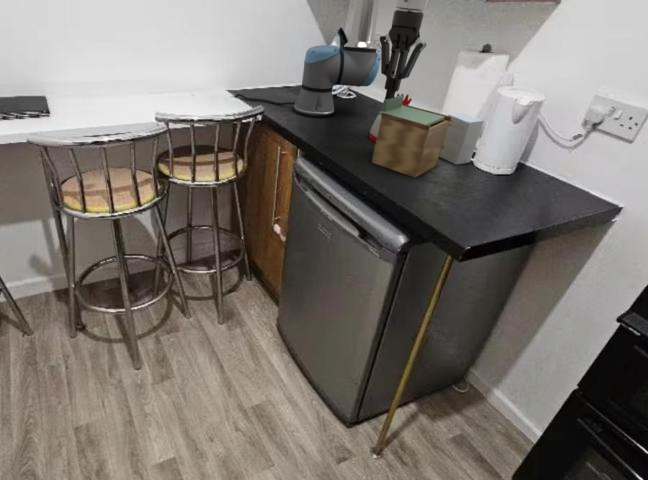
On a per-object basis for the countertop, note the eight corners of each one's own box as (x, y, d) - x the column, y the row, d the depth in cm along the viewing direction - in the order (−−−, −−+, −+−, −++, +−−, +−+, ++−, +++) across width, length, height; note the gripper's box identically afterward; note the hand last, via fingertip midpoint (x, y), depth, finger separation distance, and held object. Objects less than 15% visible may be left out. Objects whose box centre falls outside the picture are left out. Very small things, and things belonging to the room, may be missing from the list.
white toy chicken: (418, 146, 150) (431, 100, 142) (380, 146, 147) (391, 99, 139) (398, 132, 161) (409, 88, 153) (362, 132, 158) (371, 87, 150)
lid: (378, 114, 129) (381, 100, 126) (399, 107, 137) (402, 94, 135) (424, 127, 121) (428, 113, 119) (444, 119, 129) (448, 105, 127)
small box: (470, 162, 140) (484, 120, 133) (455, 165, 138) (469, 122, 131) (450, 153, 146) (463, 112, 139) (435, 155, 144) (448, 114, 137)
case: (370, 162, 135) (382, 112, 127) (394, 151, 144) (406, 104, 136) (414, 178, 127) (429, 126, 119) (436, 165, 136) (451, 116, 128)
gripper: (380, 7, 120) (362, 98, 133) (426, 13, 113) (402, 109, 126) (394, 7, 125) (375, 95, 138) (439, 13, 118) (415, 105, 130)
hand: (388, 102), depth 132 cm, fingers closed
